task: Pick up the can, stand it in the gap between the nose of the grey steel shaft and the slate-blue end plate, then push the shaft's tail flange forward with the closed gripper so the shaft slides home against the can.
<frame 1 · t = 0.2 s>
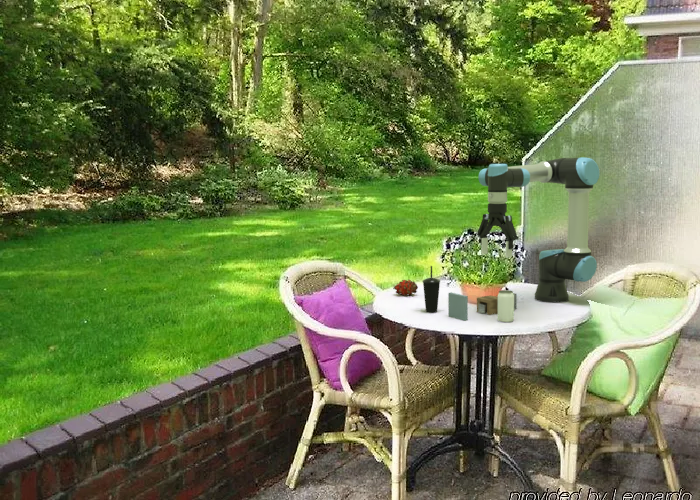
hand: (496, 255, 282), 26 cm above the table, tool pointing down, fingers open, 13 cm apart
drinking cup: (431, 312, 303), on the table
can: (505, 321, 284), on the table
red pine cone: (405, 296, 339), on the table
end plate: (457, 318, 290), on the table
shaft: (496, 302, 301), point 4 cm above the table, slide at 0.0 cm
tan wooden block: (490, 312, 299), on the table
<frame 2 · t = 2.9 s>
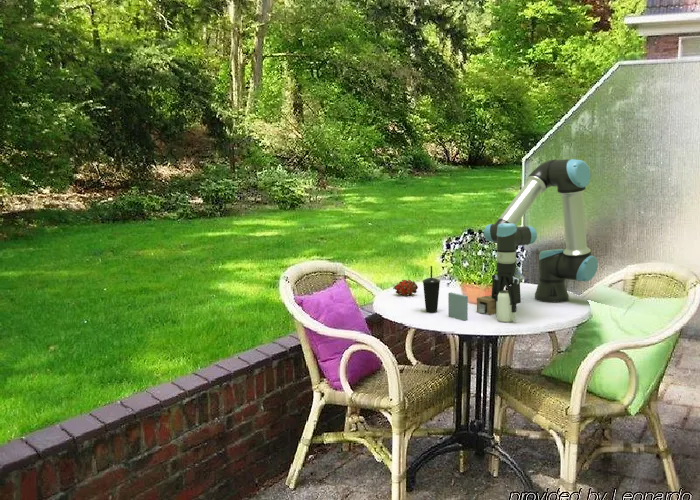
hand: (505, 318, 284), 1 cm above the table, tool pointing down, fingers closed on can, 6 cm apart
can: (505, 321, 284), on the table, touching gripper
everything else where it was.
when the fingers open (2 cm above the table, at t = 7.3 s): can stays where it is, on the table.
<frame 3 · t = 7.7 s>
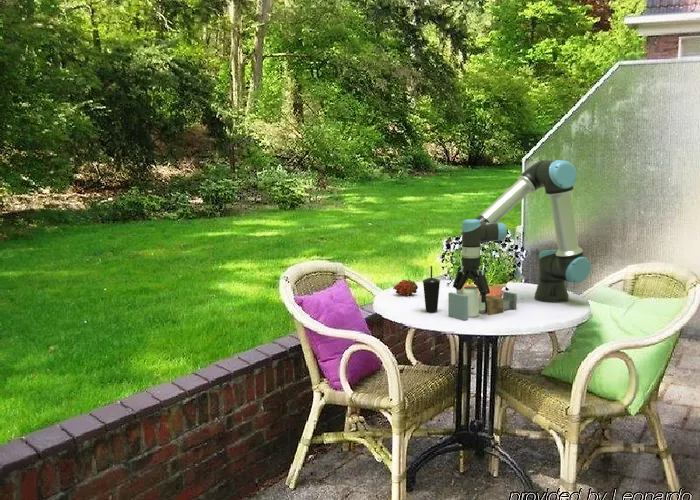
hand: (470, 307, 293), 4 cm above the table, tool pointing down, fingers open, 12 cm apart
can: (470, 316, 294), on the table
everything else where it was.
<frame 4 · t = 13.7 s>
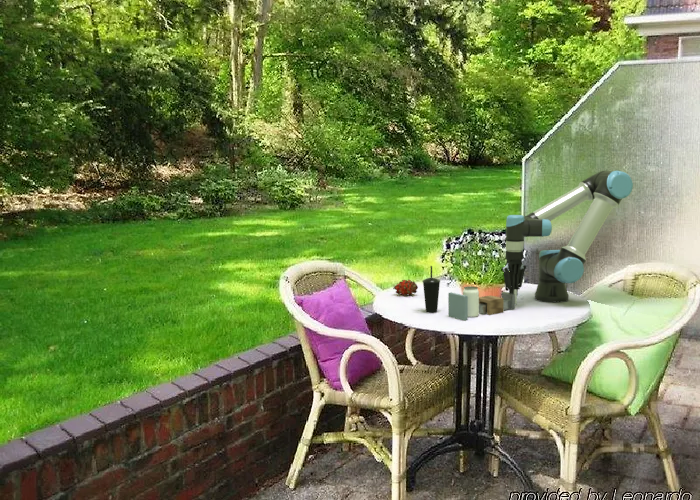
hand: (513, 303, 307), 2 cm above the table, tool pointing down, fingers closed
shaft: (494, 303, 301), point 4 cm above the table, slide at 0.9 cm, touching gripper
everything else where it was.
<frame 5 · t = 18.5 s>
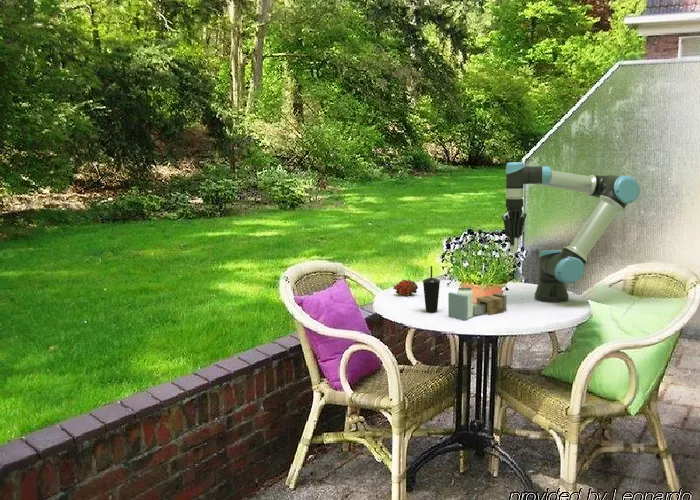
hand: (513, 252, 304), 24 cm above the table, tool pointing down, fingers closed
can: (464, 317, 292), on the table
shaft: (486, 304, 298), point 4 cm above the table, slide at 6.1 cm
everything else where it was.
at the end: shaft slide at 6.1 cm; can inside the target area (0.3 cm from its centre), on the table; can tilted 0° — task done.
